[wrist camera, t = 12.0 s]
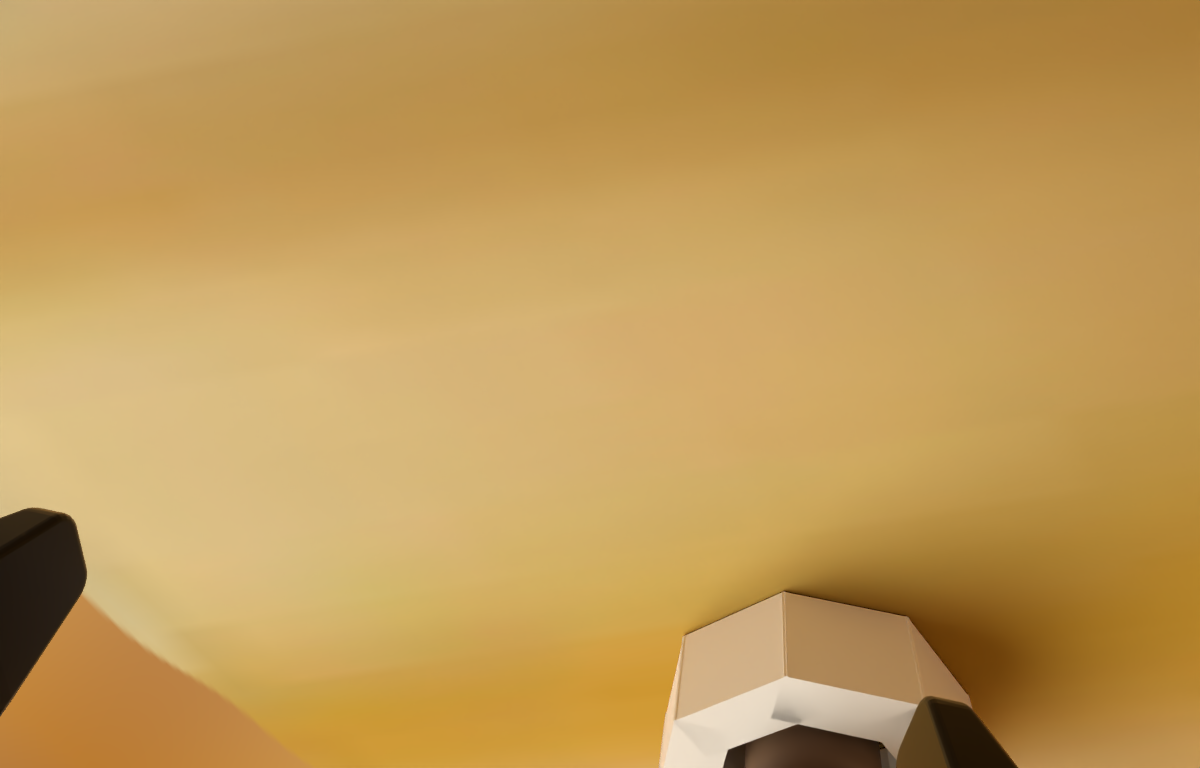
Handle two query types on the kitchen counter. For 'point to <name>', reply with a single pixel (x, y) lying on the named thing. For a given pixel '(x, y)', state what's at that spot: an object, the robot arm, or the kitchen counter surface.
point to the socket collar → (798, 679)
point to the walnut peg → (811, 750)
